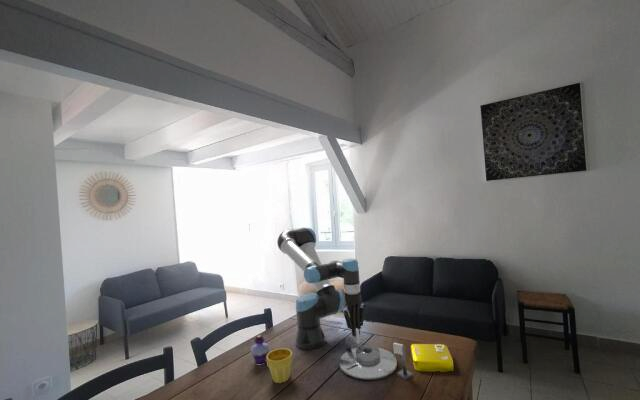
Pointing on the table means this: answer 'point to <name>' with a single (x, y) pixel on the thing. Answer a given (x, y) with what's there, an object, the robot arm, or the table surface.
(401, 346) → the stand
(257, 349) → the potion bottle
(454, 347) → the table surface
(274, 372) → the plant pot
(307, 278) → the robot arm
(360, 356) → the cover
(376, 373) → the turntable
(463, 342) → the table surface
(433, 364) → the element tile
